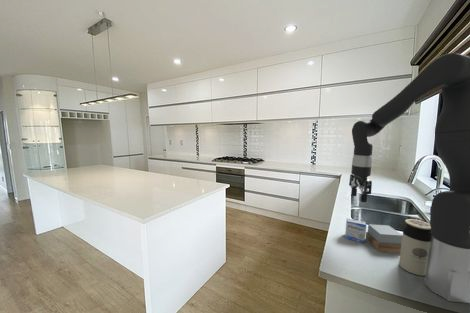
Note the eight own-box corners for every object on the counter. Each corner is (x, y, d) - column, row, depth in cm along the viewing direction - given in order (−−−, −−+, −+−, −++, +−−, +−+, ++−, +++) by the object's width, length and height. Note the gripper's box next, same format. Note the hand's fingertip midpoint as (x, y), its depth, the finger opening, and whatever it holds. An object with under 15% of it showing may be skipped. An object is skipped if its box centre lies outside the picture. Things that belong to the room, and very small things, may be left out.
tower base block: (403, 254, 83) (404, 245, 82) (378, 252, 83) (379, 243, 83) (387, 241, 92) (388, 233, 92) (365, 239, 93) (366, 231, 93)
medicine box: (345, 238, 94) (346, 221, 93) (345, 234, 98) (346, 217, 96) (364, 242, 90) (366, 225, 89) (363, 238, 94) (365, 221, 93)
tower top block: (401, 244, 83) (403, 235, 82) (379, 242, 84) (380, 234, 83) (387, 233, 92) (388, 225, 91) (367, 232, 93) (368, 224, 92)
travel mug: (398, 259, 78) (404, 216, 76) (426, 267, 73) (432, 222, 71) (399, 269, 72) (404, 223, 70) (428, 279, 67) (436, 231, 65)
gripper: (380, 167, 82) (376, 204, 84) (361, 162, 96) (358, 194, 98) (361, 167, 83) (357, 204, 85) (345, 162, 97) (343, 193, 99)
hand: (358, 198), depth 91 cm, fingers open, 8 cm apart
